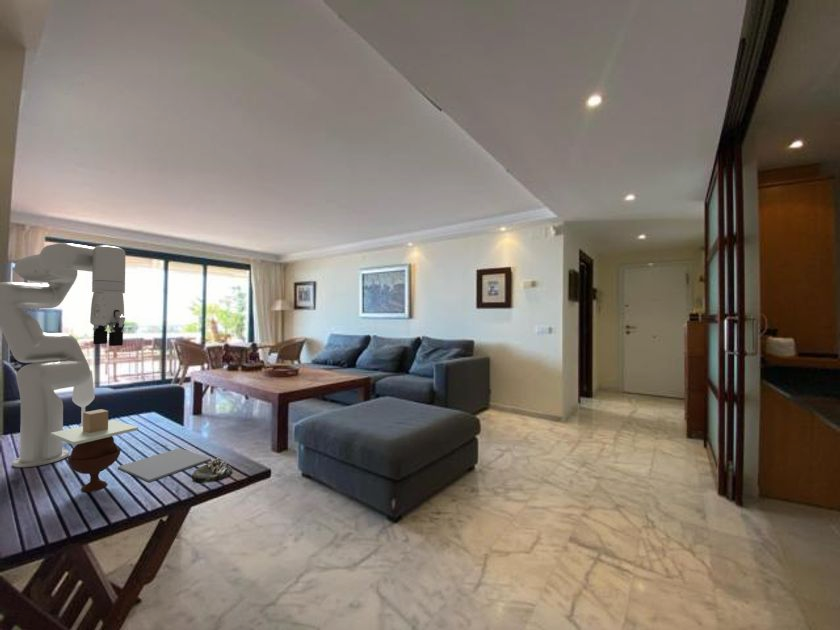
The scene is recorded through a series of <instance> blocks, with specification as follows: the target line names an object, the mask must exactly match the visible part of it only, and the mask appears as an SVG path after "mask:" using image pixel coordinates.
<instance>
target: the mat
mask: <svg viewBox="0 0 840 630" xmlns="http://www.w3.org/2000/svg"><path fill="white" fill-rule="evenodd" d="M211 460H212V458H211V457H208V456H206V455H201V454H199V453H197V452H193V451H190V450H186V449H184V448H182V447H181V448H180V447H179V448H176V449H172V450H169V451H165V452H162V453H159V454H155V455H152V456H149V457H148V456H147V457H146V458H143V459H142V458H141V459H139V460H134V461H132V462H129V463H125V464H122V465H119V466H117V469H119V470H121V471H123V472H126V473H127V474H130V475H132V476H134V477H137V478H139V479H141V480H144V481H146V482H149V483H150V482H153V481H155V480H159V479H161V478H164V477H167V476H170V475H173V474H175V473H178V472H182V471H185V470H186V469H190V468H193V467H195V466H199V465H201V464H204V463H206V462H211Z"/></svg>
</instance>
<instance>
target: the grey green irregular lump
mask: <svg viewBox="0 0 840 630" xmlns="http://www.w3.org/2000/svg"><path fill="white" fill-rule="evenodd" d="M232 474H233V468H232V466H231V465H228V461H225V460H221V459H219V457H217V458H215V459H211V460H210V461H209V463H207V464H204V465H201V466H200V467H198V468H196V469H195V470H194V471H193V472H192V474H191V478H192V480H193V481H194V482H195V483H210V482H217V481H222V480H223V479H227V478H228V477H231V476H232Z"/></svg>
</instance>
